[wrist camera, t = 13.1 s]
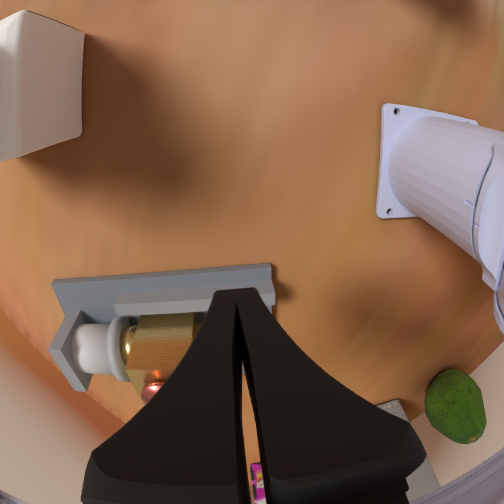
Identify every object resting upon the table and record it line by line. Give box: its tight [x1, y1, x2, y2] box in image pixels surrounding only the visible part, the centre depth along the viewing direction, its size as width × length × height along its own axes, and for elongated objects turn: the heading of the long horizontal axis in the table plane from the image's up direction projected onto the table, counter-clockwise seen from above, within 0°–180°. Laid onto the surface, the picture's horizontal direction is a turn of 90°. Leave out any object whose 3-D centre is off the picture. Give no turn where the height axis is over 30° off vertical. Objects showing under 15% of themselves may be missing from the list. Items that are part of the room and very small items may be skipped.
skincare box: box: [377, 399, 441, 502], centre depth 27 cm, size 8×7×16 cm
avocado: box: [425, 369, 486, 444], centre depth 27 cm, size 8×8×12 cm
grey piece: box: [48, 263, 275, 392], centre depth 20 cm, size 17×10×5 cm, turn 93°
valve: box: [119, 312, 202, 405], centre depth 19 cm, size 7×4×7 cm, turn 93°
